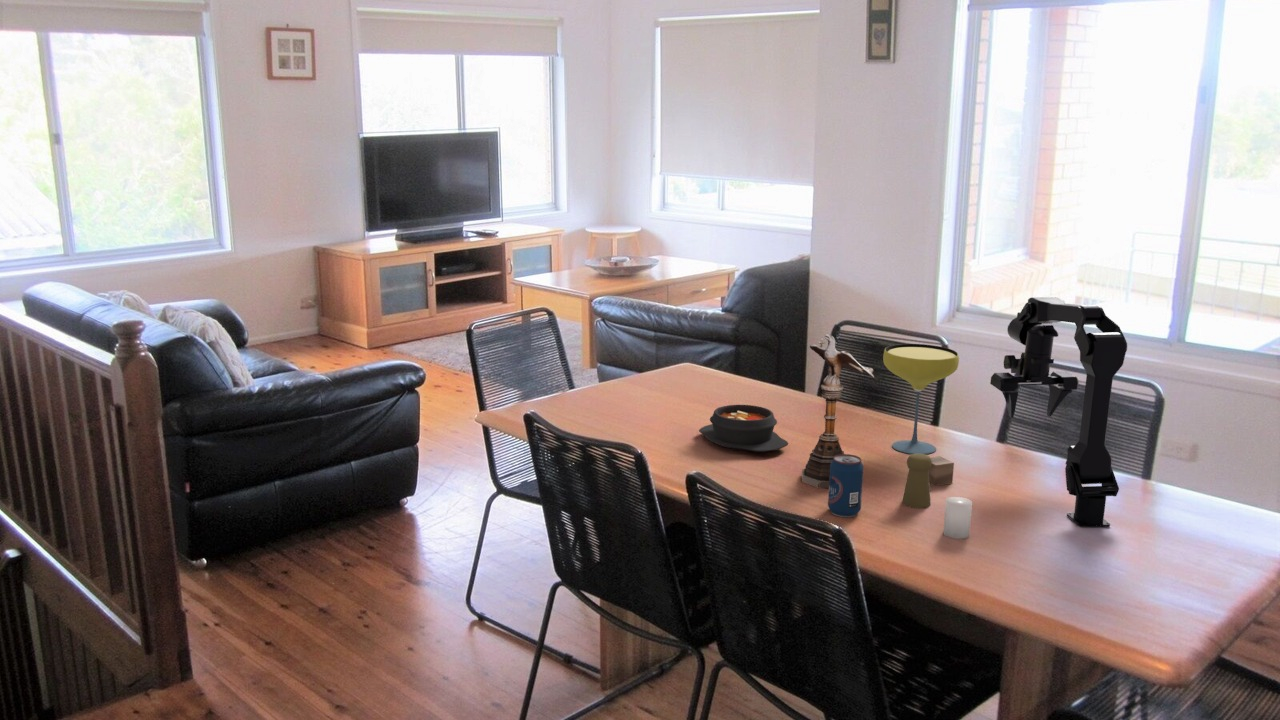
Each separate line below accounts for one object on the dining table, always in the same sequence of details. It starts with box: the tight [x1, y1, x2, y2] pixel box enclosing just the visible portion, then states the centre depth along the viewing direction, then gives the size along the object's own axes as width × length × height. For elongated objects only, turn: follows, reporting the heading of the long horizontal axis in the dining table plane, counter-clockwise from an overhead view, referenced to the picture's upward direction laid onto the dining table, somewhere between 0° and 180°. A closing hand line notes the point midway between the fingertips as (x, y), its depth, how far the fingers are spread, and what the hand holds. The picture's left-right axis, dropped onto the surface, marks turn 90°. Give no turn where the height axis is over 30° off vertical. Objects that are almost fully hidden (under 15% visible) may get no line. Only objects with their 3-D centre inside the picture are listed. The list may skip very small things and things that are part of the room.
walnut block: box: [929, 455, 955, 486], centre depth 243 cm, size 5×5×5 cm
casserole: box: [698, 404, 789, 453], centre depth 268 cm, size 25×19×8 cm
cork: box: [901, 453, 932, 509], centre depth 228 cm, size 6×6×11 cm
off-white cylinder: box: [942, 496, 973, 540], centre depth 212 cm, size 5×5×7 cm
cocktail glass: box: [882, 343, 960, 455], centre depth 264 cm, size 18×18×25 cm
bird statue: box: [801, 333, 875, 489], centre depth 241 cm, size 17×13×35 cm
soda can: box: [827, 453, 865, 518], centre depth 222 cm, size 7×7×12 cm
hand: (1029, 416), depth 244 cm, fingers open, 9 cm apart
